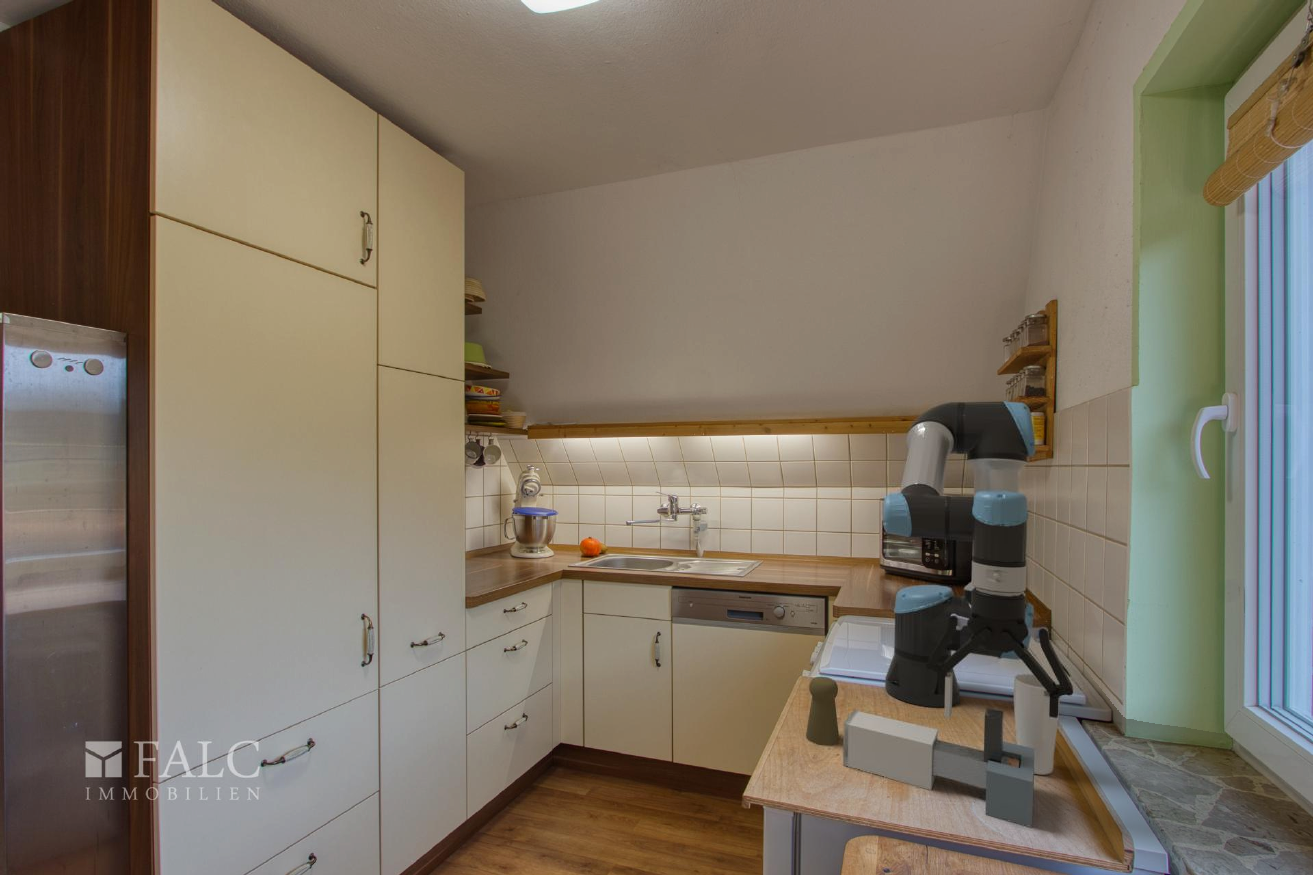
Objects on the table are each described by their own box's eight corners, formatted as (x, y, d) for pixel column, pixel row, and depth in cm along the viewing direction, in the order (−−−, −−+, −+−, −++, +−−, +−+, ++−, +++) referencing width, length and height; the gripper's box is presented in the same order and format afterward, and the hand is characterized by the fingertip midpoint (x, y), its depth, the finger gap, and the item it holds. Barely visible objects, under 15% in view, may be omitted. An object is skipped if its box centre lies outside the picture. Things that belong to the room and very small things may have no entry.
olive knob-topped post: (840, 747, 118) (841, 686, 118) (806, 743, 119) (807, 683, 119) (838, 732, 124) (839, 674, 124) (805, 728, 125) (806, 671, 125)
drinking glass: (1062, 781, 107) (1064, 690, 107) (1015, 773, 110) (1017, 684, 110) (1053, 762, 114) (1054, 676, 114) (1009, 755, 116) (1011, 671, 116)
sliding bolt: (898, 753, 112) (899, 689, 112) (1018, 784, 102) (1020, 714, 102) (893, 764, 108) (894, 697, 108) (1017, 797, 99) (1019, 724, 99)
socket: (991, 778, 108) (992, 738, 108) (1033, 789, 105) (1034, 748, 105) (985, 814, 98) (986, 770, 98) (1031, 827, 95) (1032, 781, 95)
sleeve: (852, 750, 117) (853, 710, 117) (936, 772, 110) (937, 729, 110) (842, 765, 111) (843, 723, 111) (930, 789, 104) (931, 744, 104)
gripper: (909, 583, 106) (906, 715, 106) (1095, 607, 93) (1092, 756, 93) (917, 575, 112) (915, 699, 112) (1092, 596, 99) (1089, 736, 99)
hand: (995, 725), depth 102 cm, fingers open, 13 cm apart
